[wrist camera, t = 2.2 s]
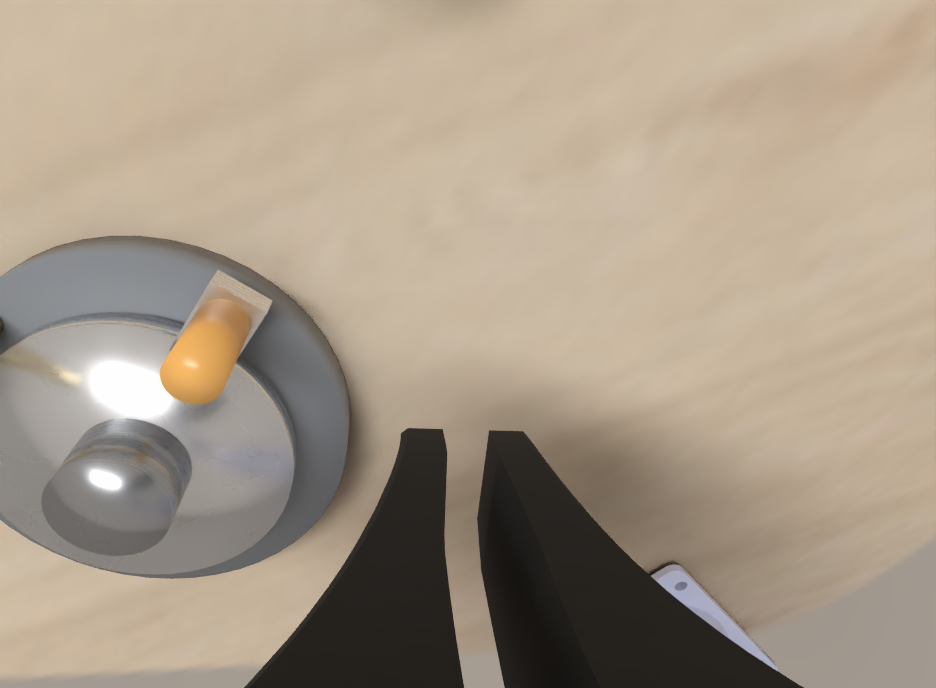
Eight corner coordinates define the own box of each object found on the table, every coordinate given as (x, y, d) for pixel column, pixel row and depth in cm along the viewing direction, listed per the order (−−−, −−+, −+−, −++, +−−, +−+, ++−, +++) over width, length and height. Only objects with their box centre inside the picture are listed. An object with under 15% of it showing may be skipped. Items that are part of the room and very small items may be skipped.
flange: (214, 591, 23) (184, 687, 20) (-65, 483, 20) (-154, 576, 16) (386, 365, 19) (383, 439, 16) (77, 189, 16) (-3, 237, 13)
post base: (423, 419, 22) (428, 510, 18) (190, 593, 25) (151, 705, 21) (126, 147, 17) (44, 191, 13) (-121, 403, 20) (-247, 501, 16)
